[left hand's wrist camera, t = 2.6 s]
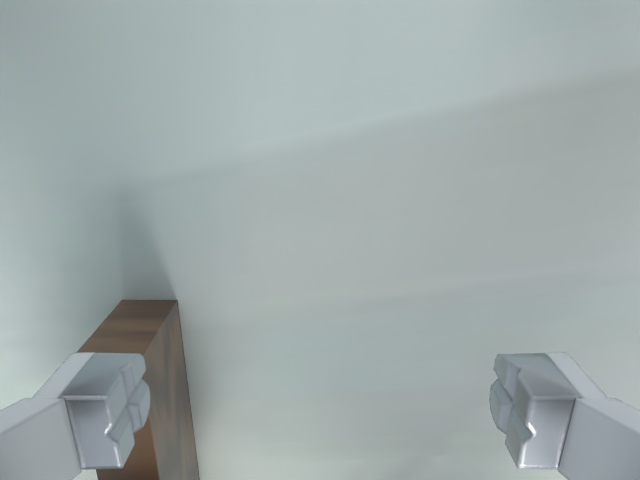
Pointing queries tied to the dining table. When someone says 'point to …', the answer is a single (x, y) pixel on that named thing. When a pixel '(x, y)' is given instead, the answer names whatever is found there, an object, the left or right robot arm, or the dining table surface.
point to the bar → (153, 389)
